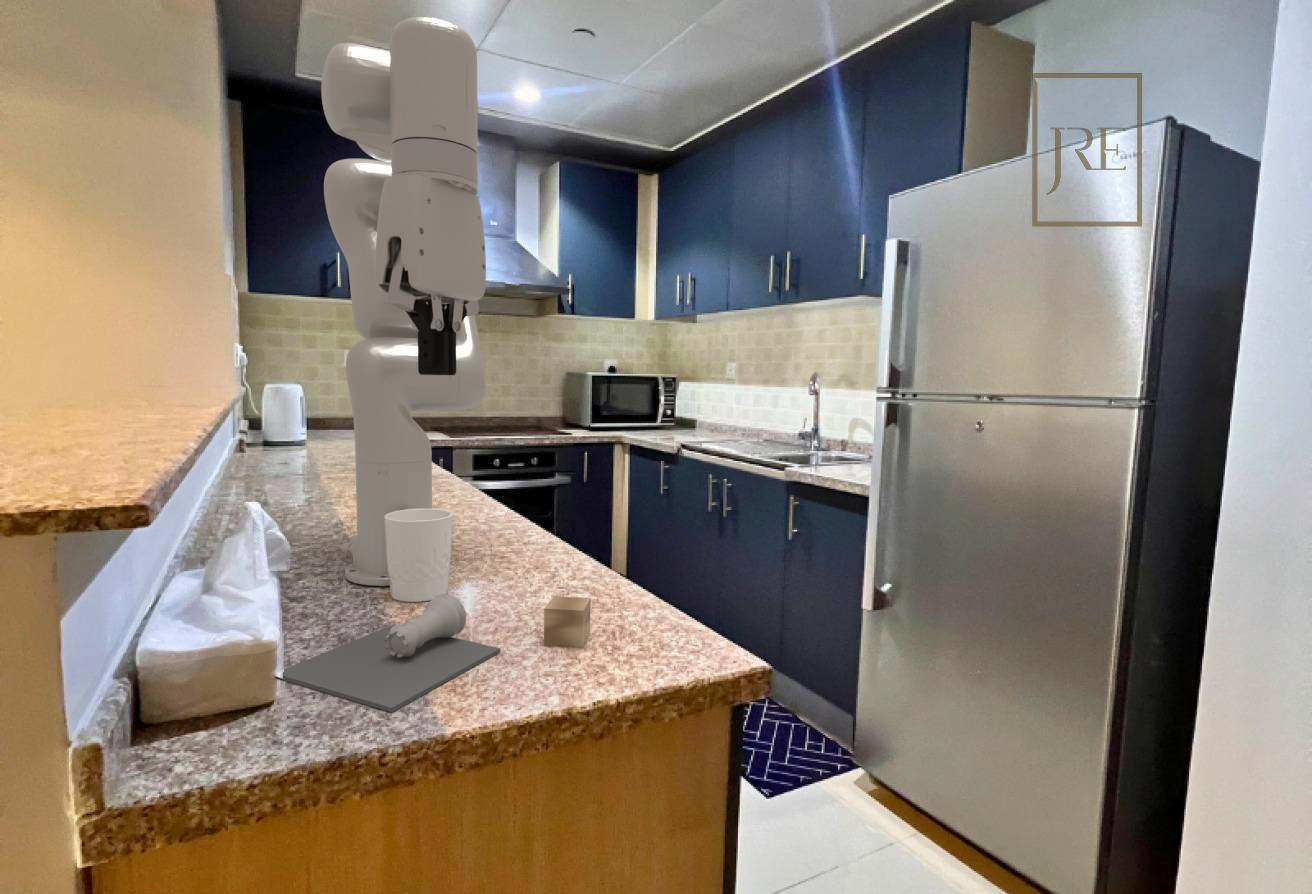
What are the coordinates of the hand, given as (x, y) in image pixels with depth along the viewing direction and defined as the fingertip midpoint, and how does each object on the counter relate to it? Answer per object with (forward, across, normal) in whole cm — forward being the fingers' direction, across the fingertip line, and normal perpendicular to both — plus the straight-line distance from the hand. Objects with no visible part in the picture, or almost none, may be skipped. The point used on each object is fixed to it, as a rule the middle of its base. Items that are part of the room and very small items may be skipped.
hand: (437, 374), depth 66 cm
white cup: (+27, -13, -15) cm, 34 cm away
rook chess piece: (+24, -4, -2) cm, 25 cm away
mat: (+27, +4, -2) cm, 27 cm away
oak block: (+27, -9, +9) cm, 30 cm away
